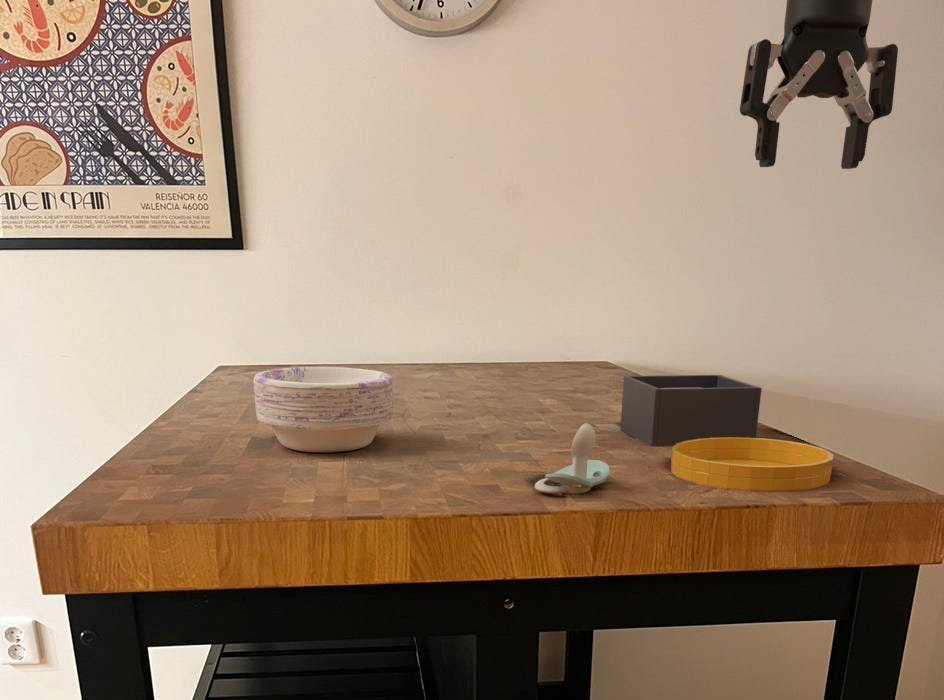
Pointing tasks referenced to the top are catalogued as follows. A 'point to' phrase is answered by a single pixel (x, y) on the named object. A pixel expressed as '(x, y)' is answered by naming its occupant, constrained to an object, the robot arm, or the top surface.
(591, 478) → the pacifier
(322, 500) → the top surface
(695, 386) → the grey bin
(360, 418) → the paper bowls
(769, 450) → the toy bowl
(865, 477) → the top surface
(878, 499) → the top surface
